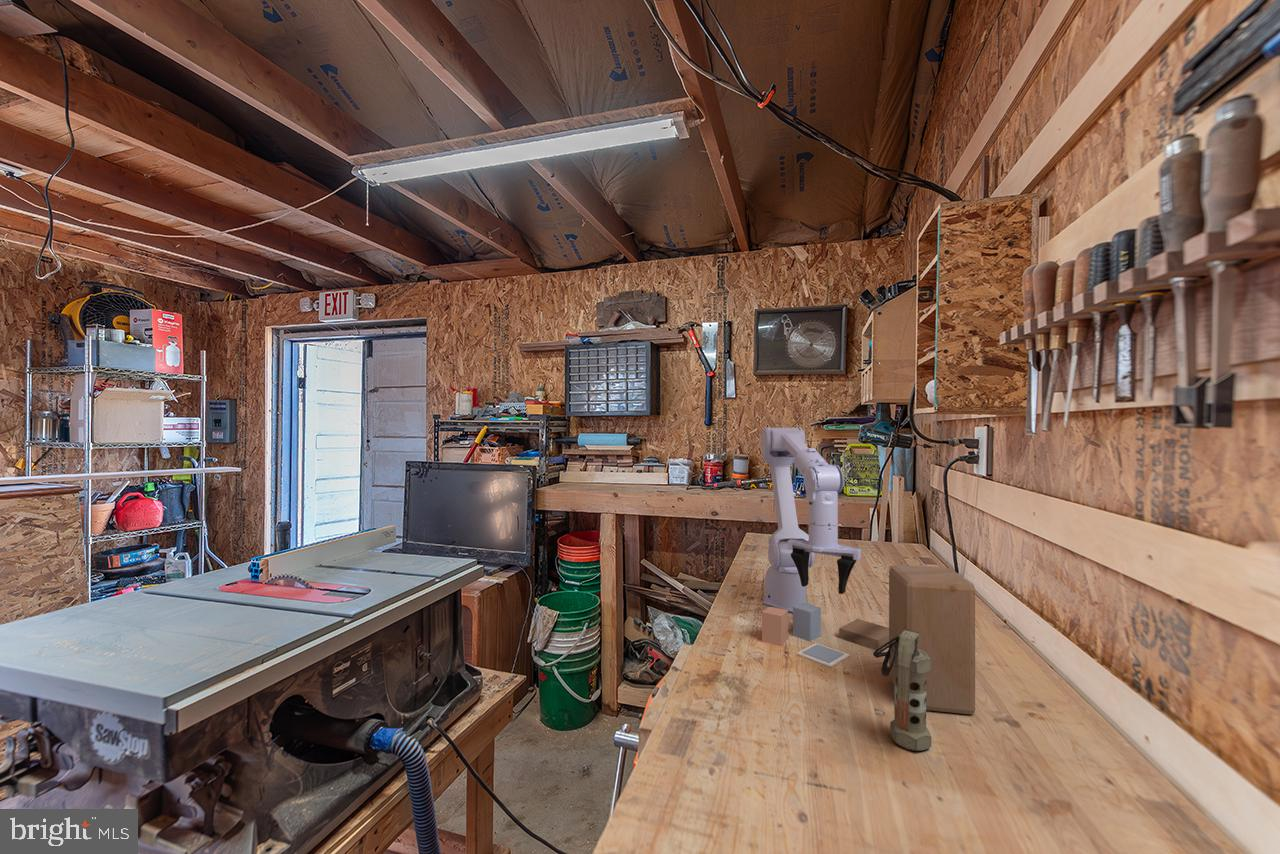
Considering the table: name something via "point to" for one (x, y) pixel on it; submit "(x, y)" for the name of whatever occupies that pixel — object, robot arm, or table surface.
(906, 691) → the grenade model
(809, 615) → the blue block
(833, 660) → the tile
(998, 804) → the table surface
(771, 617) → the terracotta block
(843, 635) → the walnut slab
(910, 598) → the wooden block
